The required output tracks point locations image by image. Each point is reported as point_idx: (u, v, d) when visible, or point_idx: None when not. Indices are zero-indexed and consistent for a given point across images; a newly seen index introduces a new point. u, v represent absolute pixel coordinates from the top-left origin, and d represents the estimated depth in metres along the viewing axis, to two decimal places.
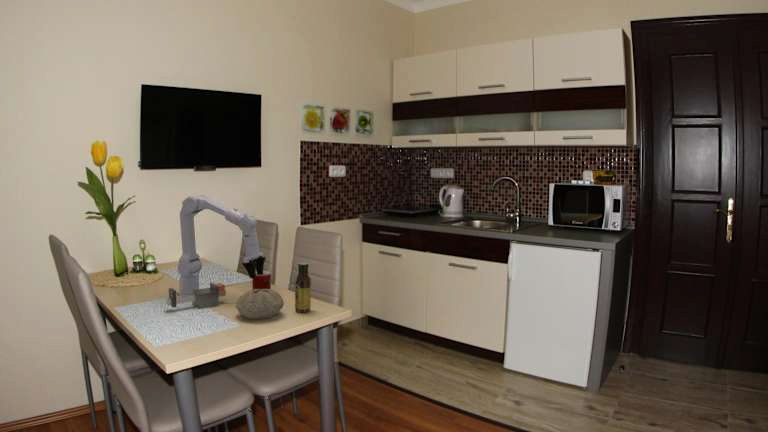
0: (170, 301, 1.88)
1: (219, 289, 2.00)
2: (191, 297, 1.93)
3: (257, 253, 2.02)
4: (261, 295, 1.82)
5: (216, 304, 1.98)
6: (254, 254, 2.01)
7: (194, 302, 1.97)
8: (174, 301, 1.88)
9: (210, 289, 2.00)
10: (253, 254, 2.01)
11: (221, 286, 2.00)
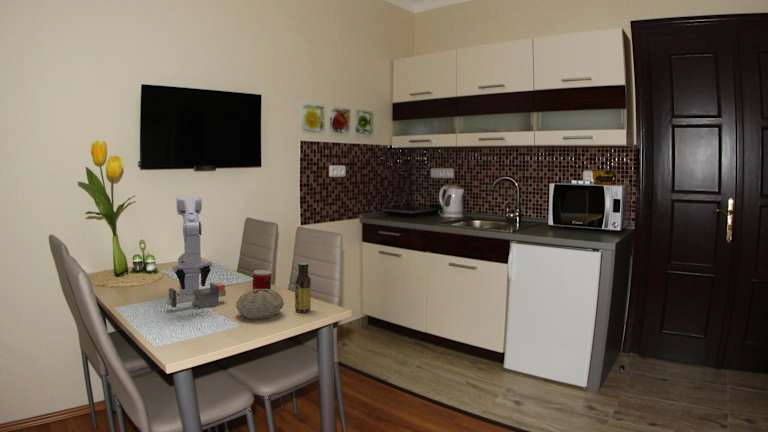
0: (170, 301, 1.88)
1: (219, 289, 2.00)
2: (191, 297, 1.93)
3: (192, 264, 1.83)
4: (261, 295, 1.82)
5: (216, 304, 1.98)
6: (188, 264, 1.82)
7: (194, 302, 1.97)
8: (174, 301, 1.88)
9: (210, 289, 2.00)
10: (187, 264, 1.83)
11: (221, 286, 2.00)
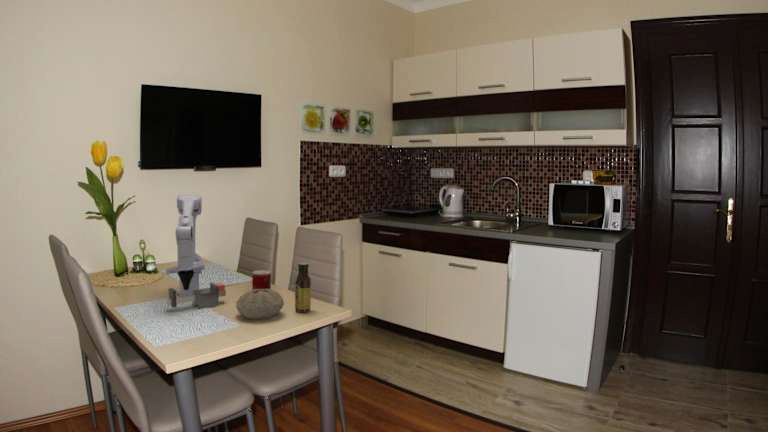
0: (170, 301, 1.88)
1: (219, 289, 2.00)
2: (191, 297, 1.93)
3: (184, 266, 1.89)
4: (261, 295, 1.82)
5: (216, 304, 1.98)
6: (181, 267, 1.89)
7: (194, 302, 1.97)
8: (174, 301, 1.88)
9: (210, 289, 2.00)
10: (180, 266, 1.89)
11: (221, 286, 2.00)
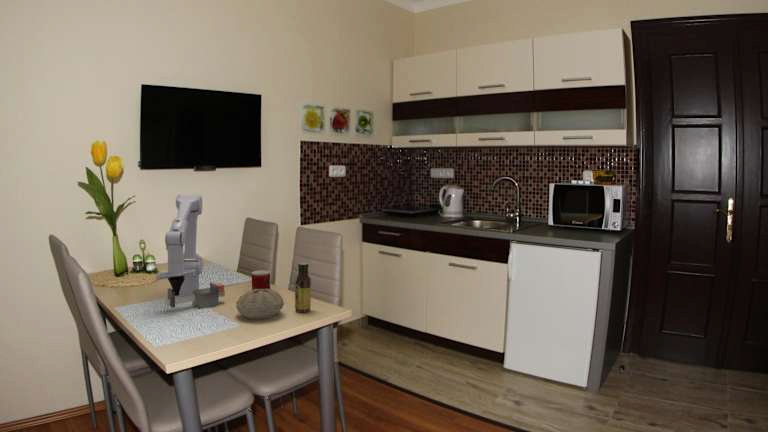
0: (169, 301, 1.88)
1: (218, 289, 1.99)
2: (189, 297, 1.93)
3: (175, 272, 1.87)
4: (261, 295, 1.82)
5: (216, 304, 1.98)
6: (171, 272, 1.86)
7: (194, 302, 1.97)
8: (173, 301, 1.87)
9: (210, 289, 2.00)
10: (170, 272, 1.87)
11: (220, 286, 2.00)
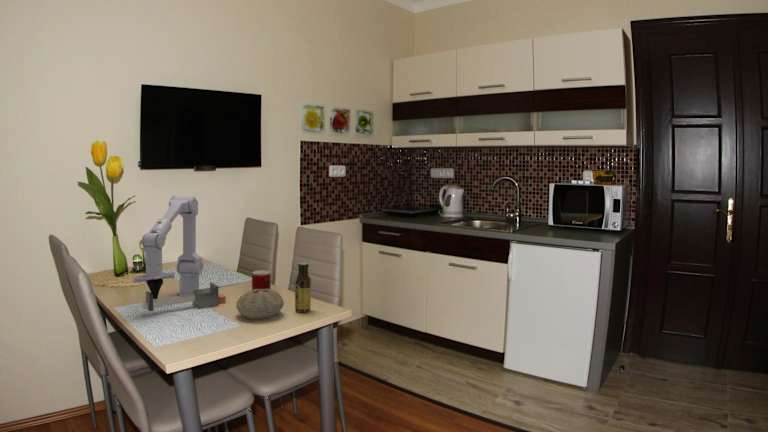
0: (147, 305, 1.82)
1: (221, 298, 2.01)
2: (168, 300, 1.88)
3: (153, 275, 1.81)
4: (261, 295, 1.82)
5: (216, 304, 1.98)
6: (149, 275, 1.81)
7: (194, 302, 1.97)
8: (151, 305, 1.82)
9: (210, 289, 2.00)
10: (148, 275, 1.81)
11: (224, 300, 2.02)
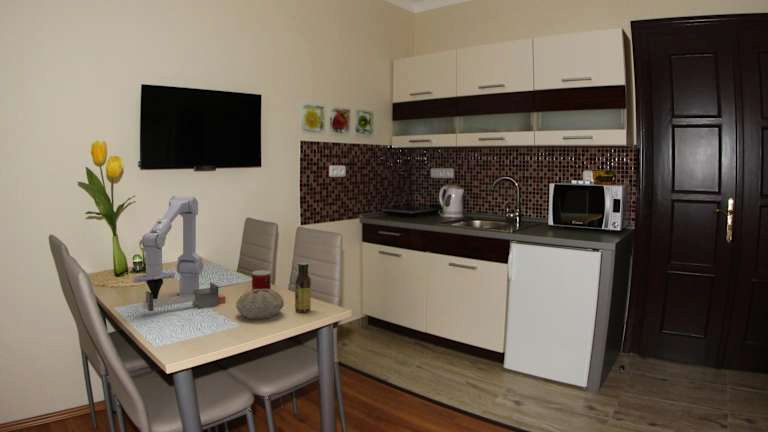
0: (147, 305, 1.82)
1: (221, 298, 2.01)
2: (168, 300, 1.88)
3: (153, 275, 1.81)
4: (261, 295, 1.82)
5: (216, 304, 1.98)
6: (149, 275, 1.81)
7: (194, 302, 1.97)
8: (151, 305, 1.82)
9: (210, 289, 2.00)
10: (148, 275, 1.81)
11: (224, 300, 2.02)
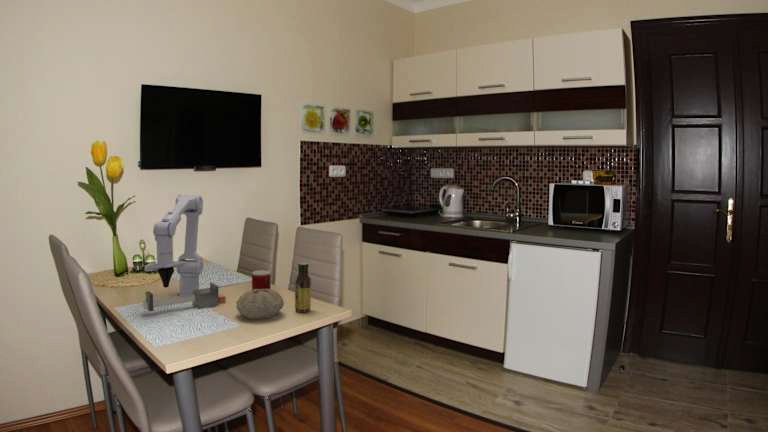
0: (147, 305, 1.82)
1: (221, 298, 2.01)
2: (168, 300, 1.88)
3: (164, 263, 1.84)
4: (261, 295, 1.82)
5: (216, 304, 1.98)
6: (160, 264, 1.84)
7: (194, 302, 1.97)
8: (151, 305, 1.82)
9: (210, 289, 2.00)
10: (159, 263, 1.84)
11: (224, 300, 2.02)
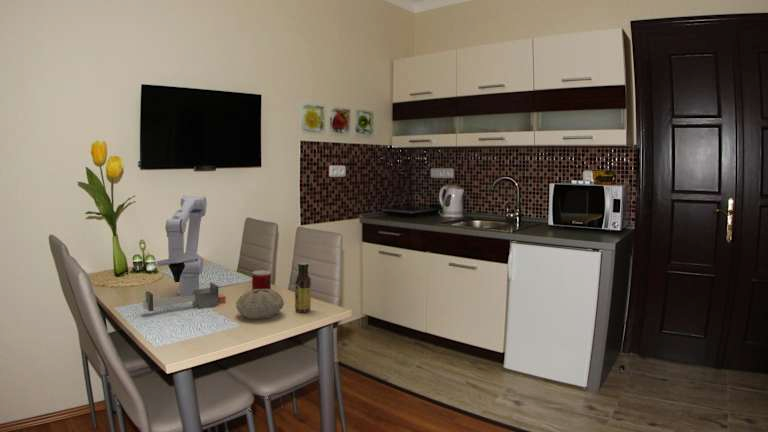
0: (147, 305, 1.82)
1: (221, 298, 2.01)
2: (168, 300, 1.88)
3: (175, 259, 1.90)
4: (261, 295, 1.82)
5: (216, 304, 1.98)
6: (171, 259, 1.90)
7: (194, 302, 1.97)
8: (151, 305, 1.82)
9: (210, 289, 2.00)
10: (171, 259, 1.90)
11: (224, 300, 2.02)
